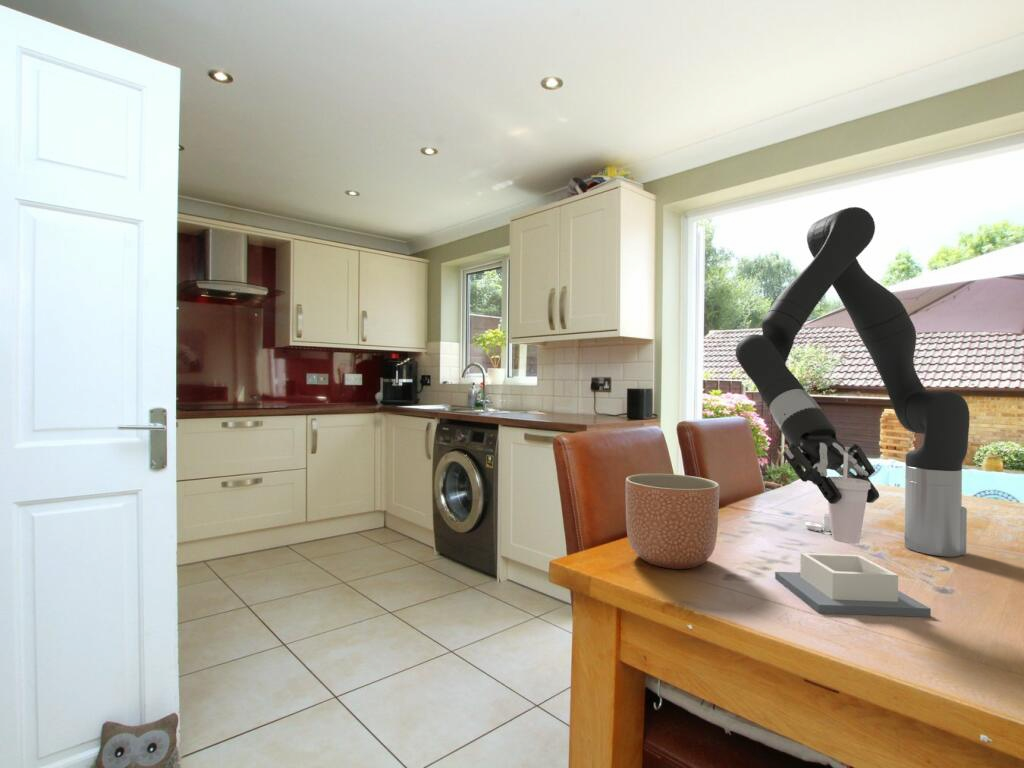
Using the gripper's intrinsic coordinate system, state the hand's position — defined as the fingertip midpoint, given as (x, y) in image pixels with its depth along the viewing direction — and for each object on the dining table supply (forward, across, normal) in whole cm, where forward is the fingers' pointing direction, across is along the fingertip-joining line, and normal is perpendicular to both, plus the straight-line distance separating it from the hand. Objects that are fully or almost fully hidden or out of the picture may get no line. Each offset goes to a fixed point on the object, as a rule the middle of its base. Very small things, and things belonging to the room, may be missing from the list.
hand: (855, 500), depth 83 cm
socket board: (+10, 0, +12) cm, 16 cm away
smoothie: (+4, 0, +6) cm, 7 cm away
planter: (-4, -19, +27) cm, 33 cm away
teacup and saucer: (-16, +30, +39) cm, 51 cm away
